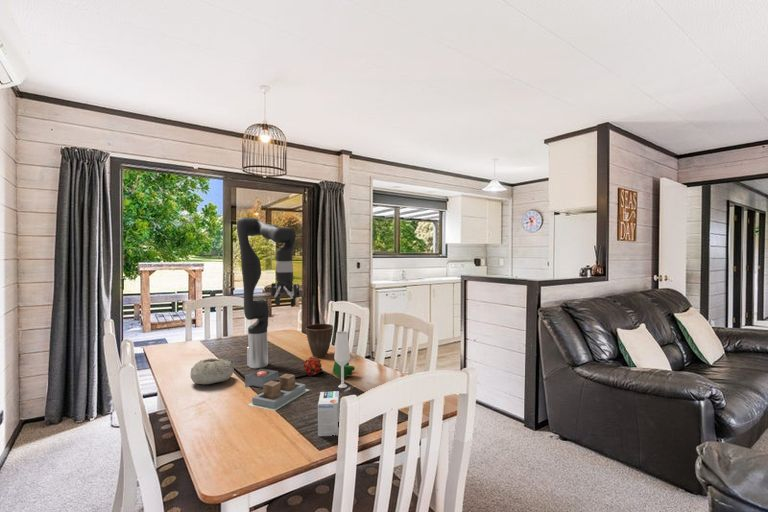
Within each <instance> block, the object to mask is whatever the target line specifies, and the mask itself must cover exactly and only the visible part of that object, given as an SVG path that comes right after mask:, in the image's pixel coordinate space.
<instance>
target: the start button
mask: <svg viewBox="0 0 768 512" xmlns="http://www.w3.org/2000/svg"><path fill="white" fill-rule="evenodd" d="M266 374H267V372H266V371H260V372H257V375H260V376H263V375H266Z"/></svg>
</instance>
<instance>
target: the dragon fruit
mask: <svg viewBox="0 0 768 512" xmlns="http://www.w3.org/2000/svg"><path fill="white" fill-rule="evenodd" d="M302 368H303V370H304V372H305V374H306V375H308V377H313V376H315V375H319V373H320V372H322V371H323V367H322V363H321V359H320V358H318V357H314V356H310V357H309V358H308V359H306V360H305V361H304V363H303V367H302Z"/></svg>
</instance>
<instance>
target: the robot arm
mask: <svg viewBox="0 0 768 512" xmlns="http://www.w3.org/2000/svg"><path fill="white" fill-rule="evenodd" d="M236 232H237V233H236V234H237V238H238V245H239V251H240V259H241V261H240V265H241V274H242V284H243V312H244V317H245V319H247V321H248V320H249V321H252V320H256V321H255V322H254V323H252V324H250V325H249V326H248V328H247V337H248V338H247V339H248V343H247V344H248V346H247V347H246V360H247V361H246V363H247V367H249V368H251V369H263V368H265V367H267V366H268V365H269V356H268V355H269V353H268V351H269V349H268V343H269V342H268V327H269V304H268V302H267V301H266V300H265V299H256V300H254V294H255V289H256V287H257V284H258V282H259V280H260V279H261V276H262V265H261V263H262V262H261V260H260V258H259V256H258V255H257V253H256V252H255V251H254V248H252V245H251V244H250V241H249V237H253V236H261V237H263V238H264V239H267V240H271V241H272V242H273V243H278V244H279V243H282V244H283V243H284V245H283V246H282V247H279V248H278V249H277V250H276V252H275V253H276V255H275V256H276V263H275V265H276V266H275V267H276V268H275V273H276V274H275V275H276V276H275V277H276V279H275V280H276V282H272V283H271V287H270V288H271V289H270V295H271V296H272V297H274V304H275V306H278V307H279V306H280V305H281V295H282V294H287V295H288V296H289V297H290V307H291V308H294V307H295V306H296V303H297V301H296V299H297V298H299V297H300V296H301V295H300V285H299V283H294V282H293V281H294V264H293V250H294V245H295V242H296V239H297V238H296V237H297V235H296V231H295V229H294V228H292V227H281V226H278V225H274V224H270V223H266V222H264V221H262V220H260V219H258V218H255V217H239V218H238V219H237V221H236Z"/></svg>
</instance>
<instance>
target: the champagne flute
mask: <svg viewBox="0 0 768 512" xmlns="http://www.w3.org/2000/svg"><path fill="white" fill-rule="evenodd" d="M349 343H350V342H349V335H348V331H346V330H345V331H344V330H343V331H341V330H340V331H337V332H336V333H335V344H334V345H335V347H334V356H333V357H334V362H335V361H336V363H338V364H339V365H340V366H341V378H340V379H341V380H340V381H341V383H340V384H339V385H338V386H337V387H338V388H340V389H343V388H345V389H344V390H343V392H347V391H349V390H351V386H348V385H347V384H346V383H345V379H344V365H346V364H347V363H349V362H350V360H351V352H350V344H349Z"/></svg>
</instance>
